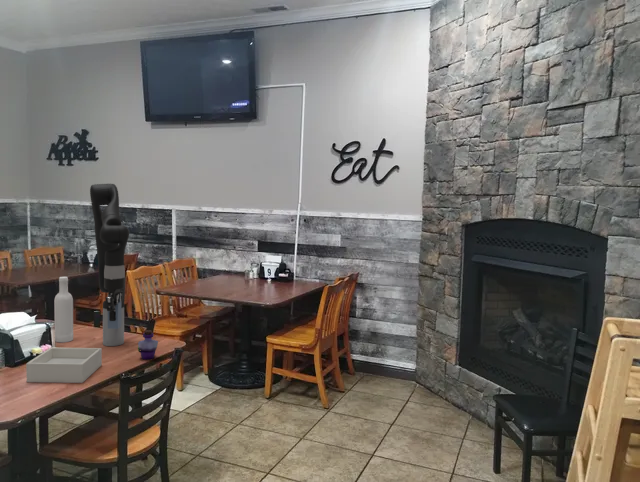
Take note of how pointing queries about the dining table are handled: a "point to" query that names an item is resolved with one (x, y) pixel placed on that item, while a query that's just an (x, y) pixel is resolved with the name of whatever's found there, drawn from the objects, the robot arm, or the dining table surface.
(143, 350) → the potion bottle
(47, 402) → the dining table surface
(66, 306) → the bottle
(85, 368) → the walled box
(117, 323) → the peg
